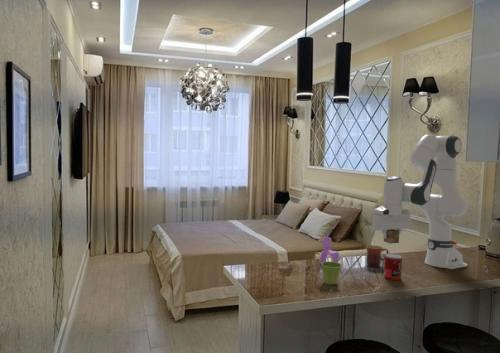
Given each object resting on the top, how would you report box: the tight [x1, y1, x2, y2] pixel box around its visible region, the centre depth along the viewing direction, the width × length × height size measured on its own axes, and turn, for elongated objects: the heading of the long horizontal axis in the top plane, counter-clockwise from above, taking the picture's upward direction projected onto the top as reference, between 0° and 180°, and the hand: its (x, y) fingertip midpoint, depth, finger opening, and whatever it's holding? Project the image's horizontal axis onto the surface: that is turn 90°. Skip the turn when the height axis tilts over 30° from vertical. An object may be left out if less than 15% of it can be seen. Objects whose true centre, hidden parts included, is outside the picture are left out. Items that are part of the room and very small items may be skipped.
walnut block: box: [383, 229, 400, 244], centre depth 190 cm, size 5×5×6 cm
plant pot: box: [320, 261, 343, 285], centre depth 180 cm, size 9×9×9 cm
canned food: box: [384, 253, 403, 281], centre depth 190 cm, size 8×8×11 cm
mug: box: [365, 244, 390, 268], centre depth 211 cm, size 12×9×10 cm
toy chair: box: [318, 236, 340, 265], centre depth 210 cm, size 8×9×15 cm
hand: (391, 238), depth 190 cm, fingers closed on walnut block, 5 cm apart
